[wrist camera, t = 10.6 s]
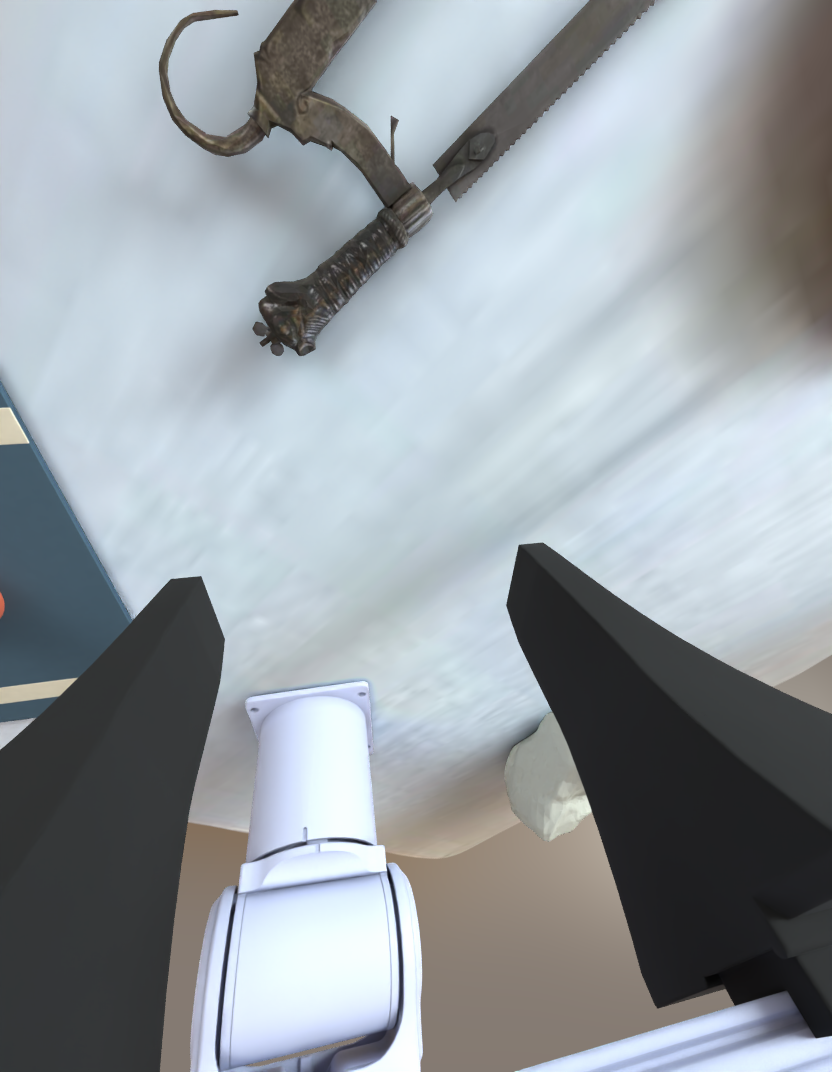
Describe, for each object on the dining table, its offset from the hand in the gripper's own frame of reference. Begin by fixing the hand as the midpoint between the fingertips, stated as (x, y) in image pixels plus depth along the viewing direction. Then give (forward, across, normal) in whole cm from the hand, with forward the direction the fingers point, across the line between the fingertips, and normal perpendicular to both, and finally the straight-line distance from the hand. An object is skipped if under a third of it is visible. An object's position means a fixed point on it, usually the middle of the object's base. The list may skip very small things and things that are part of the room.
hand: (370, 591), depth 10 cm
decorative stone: (+11, -17, +31) cm, 37 cm away
